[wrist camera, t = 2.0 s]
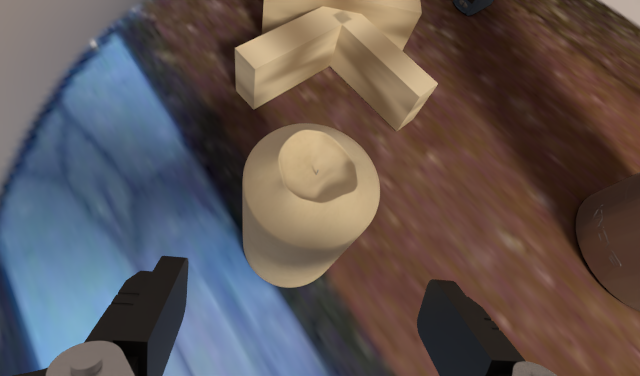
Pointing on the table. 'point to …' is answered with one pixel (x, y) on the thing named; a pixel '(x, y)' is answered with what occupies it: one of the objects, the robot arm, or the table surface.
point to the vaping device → (471, 5)
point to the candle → (305, 202)
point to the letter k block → (337, 53)
